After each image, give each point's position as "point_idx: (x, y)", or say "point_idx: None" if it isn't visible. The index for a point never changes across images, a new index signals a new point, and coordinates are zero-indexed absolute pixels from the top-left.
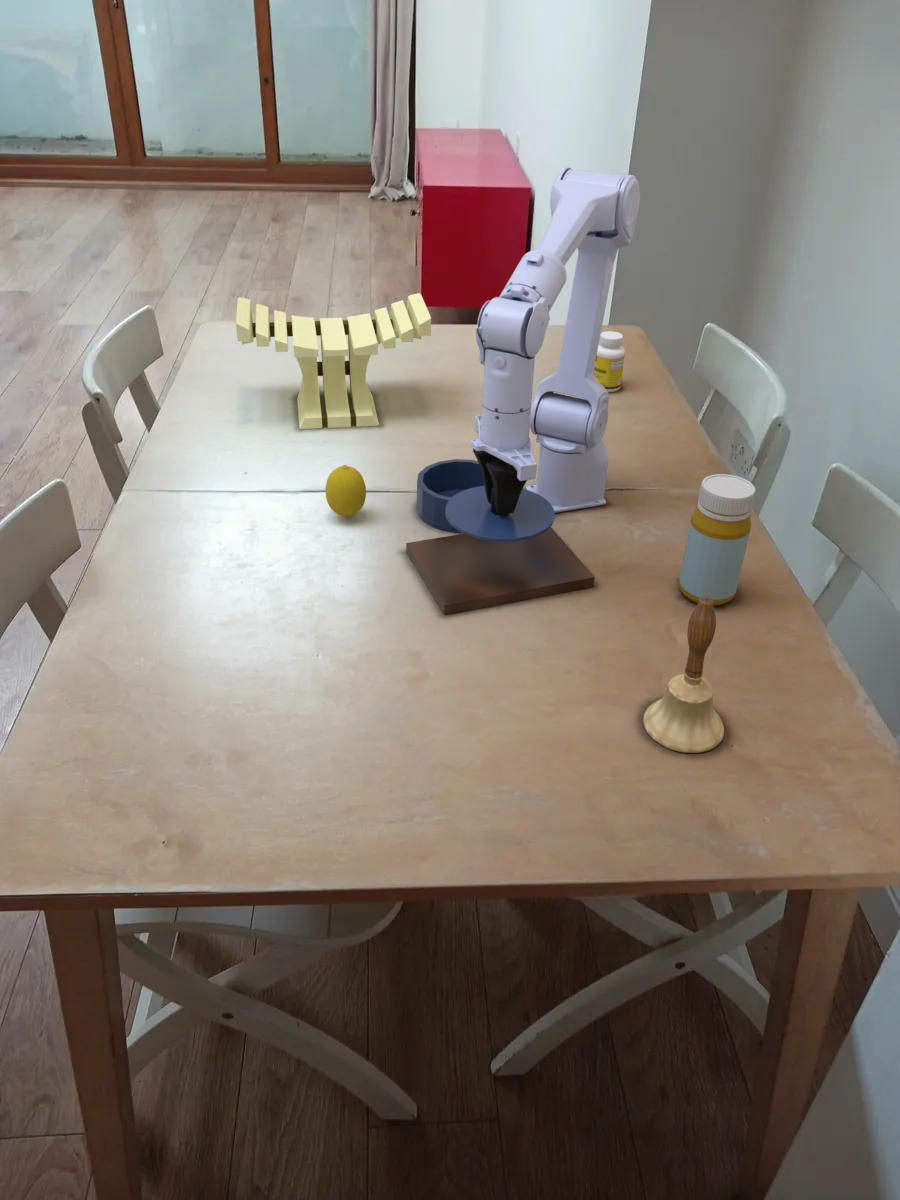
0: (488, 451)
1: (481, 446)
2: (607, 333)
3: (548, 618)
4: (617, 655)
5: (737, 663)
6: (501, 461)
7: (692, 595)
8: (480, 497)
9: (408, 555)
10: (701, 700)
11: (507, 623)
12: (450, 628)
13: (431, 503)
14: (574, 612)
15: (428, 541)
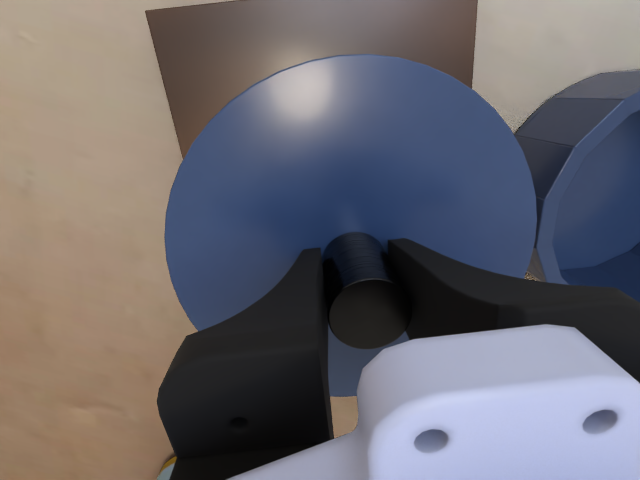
0: (308, 464)
1: (367, 462)
2: None
3: (140, 246)
4: (26, 322)
5: (23, 454)
6: (315, 440)
7: (171, 463)
8: (460, 222)
9: None
10: None
11: (123, 163)
12: (100, 19)
13: (614, 91)
14: (159, 294)
15: (463, 48)
